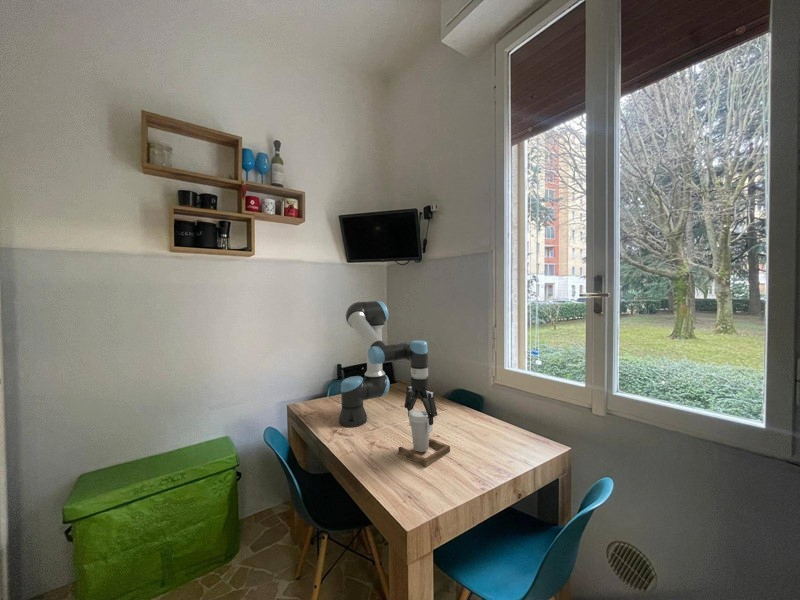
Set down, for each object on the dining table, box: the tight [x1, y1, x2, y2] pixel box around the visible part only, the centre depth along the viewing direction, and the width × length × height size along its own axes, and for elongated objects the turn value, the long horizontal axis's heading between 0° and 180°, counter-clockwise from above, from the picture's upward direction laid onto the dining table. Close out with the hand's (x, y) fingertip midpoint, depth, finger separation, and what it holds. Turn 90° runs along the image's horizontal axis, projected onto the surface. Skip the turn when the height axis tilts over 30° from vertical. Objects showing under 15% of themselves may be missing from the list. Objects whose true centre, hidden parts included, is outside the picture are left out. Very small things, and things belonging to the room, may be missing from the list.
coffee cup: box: [408, 409, 430, 453], centre depth 132 cm, size 10×10×15 cm
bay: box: [397, 437, 451, 468], centre depth 131 cm, size 16×16×2 cm
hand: (420, 428), depth 132 cm, fingers closed on coffee cup, 9 cm apart
